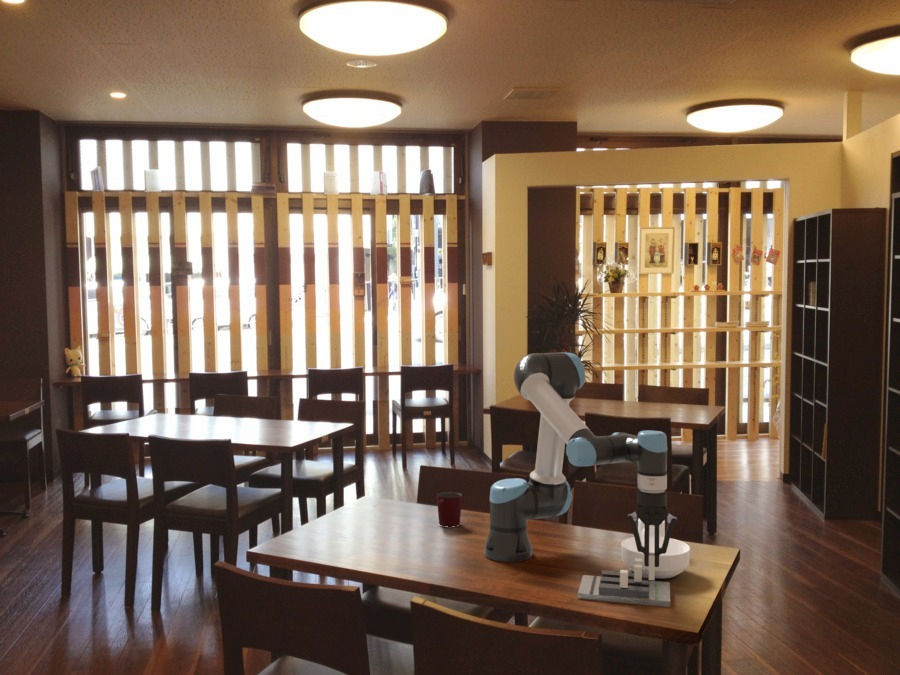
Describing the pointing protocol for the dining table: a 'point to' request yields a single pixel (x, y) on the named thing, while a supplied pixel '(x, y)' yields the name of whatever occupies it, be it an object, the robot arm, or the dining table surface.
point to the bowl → (668, 562)
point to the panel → (625, 599)
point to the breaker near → (624, 578)
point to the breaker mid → (637, 573)
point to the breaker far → (638, 561)
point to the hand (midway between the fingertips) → (651, 578)
